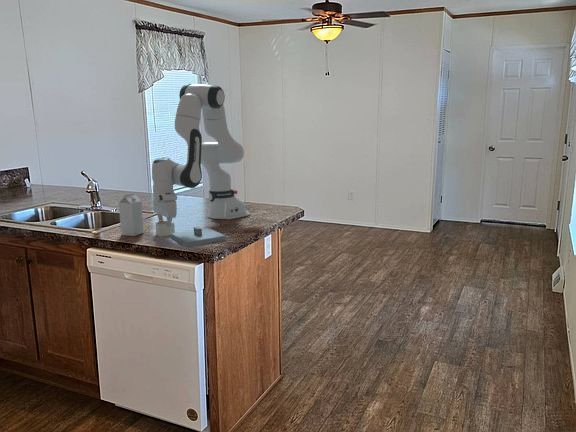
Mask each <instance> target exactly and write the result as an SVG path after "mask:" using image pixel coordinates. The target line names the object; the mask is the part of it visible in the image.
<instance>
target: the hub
mask: <svg viewBox="0 0 576 432" xmlns="http://www.w3.org/2000/svg"><path fill="white" fill-rule="evenodd" d="M170 238H171V239H172V240H174V241H176V242H177V243H179V244H181V245H183V246H185V247H186V248H189V247H194V246H199V245H200V246H201V245H205V244H206V243H207V244H211V243H212V242H213V243H217V242H224V241H227V236H226V234H223V233H220V232H218V231H217V230H215V229H211V228H210V227H204V228H202V227H199V226H194V227H193V229H191V230H185V231H179V232H175V233H171V235H170ZM213 243H212V244H213ZM207 244H206V245H207Z"/></svg>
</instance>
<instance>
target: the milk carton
mask: <svg viewBox="0 0 576 432" xmlns="http://www.w3.org/2000/svg"><path fill="white" fill-rule="evenodd" d="M142 206H143V205H142V200H141V199H140V198H139V197H138V196H137V195H136V194H135V191H134V192H133V191H132V192H129V193H125V194H123V198H122V199H120V201H119V202H118V210H119V211H118V212H119V223H120V234H121V236H126V237H127V236H129V237H135V236H138V235H141V234H143V233H145V232H144V220H143V207H142Z"/></svg>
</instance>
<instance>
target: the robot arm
mask: <svg viewBox="0 0 576 432" xmlns="http://www.w3.org/2000/svg"><path fill="white" fill-rule="evenodd" d="M225 95H226V94H225V91H224V90H223V88H222V87H221V86H219V85H216V84H208V83H200V84H199V83H193V84H192V83H187V84H184V85H182V87H181V88H180V91H179V101H178V105H177V108H176V113H175V119H174V130H175V132H176V134H177V135H178V136H179V137H181V138H182V139H184V141H185V142H186V145H187V153H186V156H187V157H186V164H183V163H182V164H180V163H178V162H175V161H174V160H172V159H170V157H159V158H156V159H155V160H153V162H152V165H151V180H152V183H153V185H152V197H153V198H152V210H153V213H156V216H157V219H158V222H161V221H165V220H164V218H163V217H166V221H167V223H166V226H167V227H171V222H173V219H174V218H176V217H177V213H178V212H177V211H178V208H177V206H178V205H177V204H178V203H177V200H178V195H177V194H176V193H175V191H174V185H175V186H180V187H185V188H188V189H194V188H196V187H198V186H199V185H200V183H201V181H202V178H203V174H202V166H203V168H204V169H205V170H206V172H207V176H208V182H209V190H208V199H209V209H208V214H207V217H208V218H209V219H213V220H233V219H238V218H239V219H240V218H243V217H247V216H251V212H249V211H248V210H247V209H246V204H245V203H244V202H243V201H242V200H240V199H239V198H237V196H235V195H238V193H239V191H238V190H236V189H232V184H231V183H232V181H231V174H230V173H229V172H228V171H226V170H224V169H223V168H221V166H220V164H236V163H239V162H242V160H243V158H244V154H245V152H244V151H245V150H244V147H243V146H242V144H241V143H239V142H238V141H237V140H235V139H234V137H233V136H232V134H230V132H229V129H228V124H227V117H226V109H225V106H224V103H225V99H226V98H225ZM201 117H202V118H203V125H204V131H205V134H206V135H208V136H209V137H211V138H212V139H214V140H215V141H204V142H203V140H202V134H201V131H200V130H201V129H200V125H201Z"/></svg>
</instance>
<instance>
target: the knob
mask: <svg viewBox="0 0 576 432" xmlns="http://www.w3.org/2000/svg"><path fill="white" fill-rule="evenodd" d="M166 223H167V220H164V221H161V222H159V221H157V222H155V223H154V224H155V235H156V236H157V237H160V238H161V237H162V238H163V237H169V236H171V233H176V231H175V230H176V229H175V227H176V226H175V222H173V221H172V222H171V227H167V226H166Z"/></svg>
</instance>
